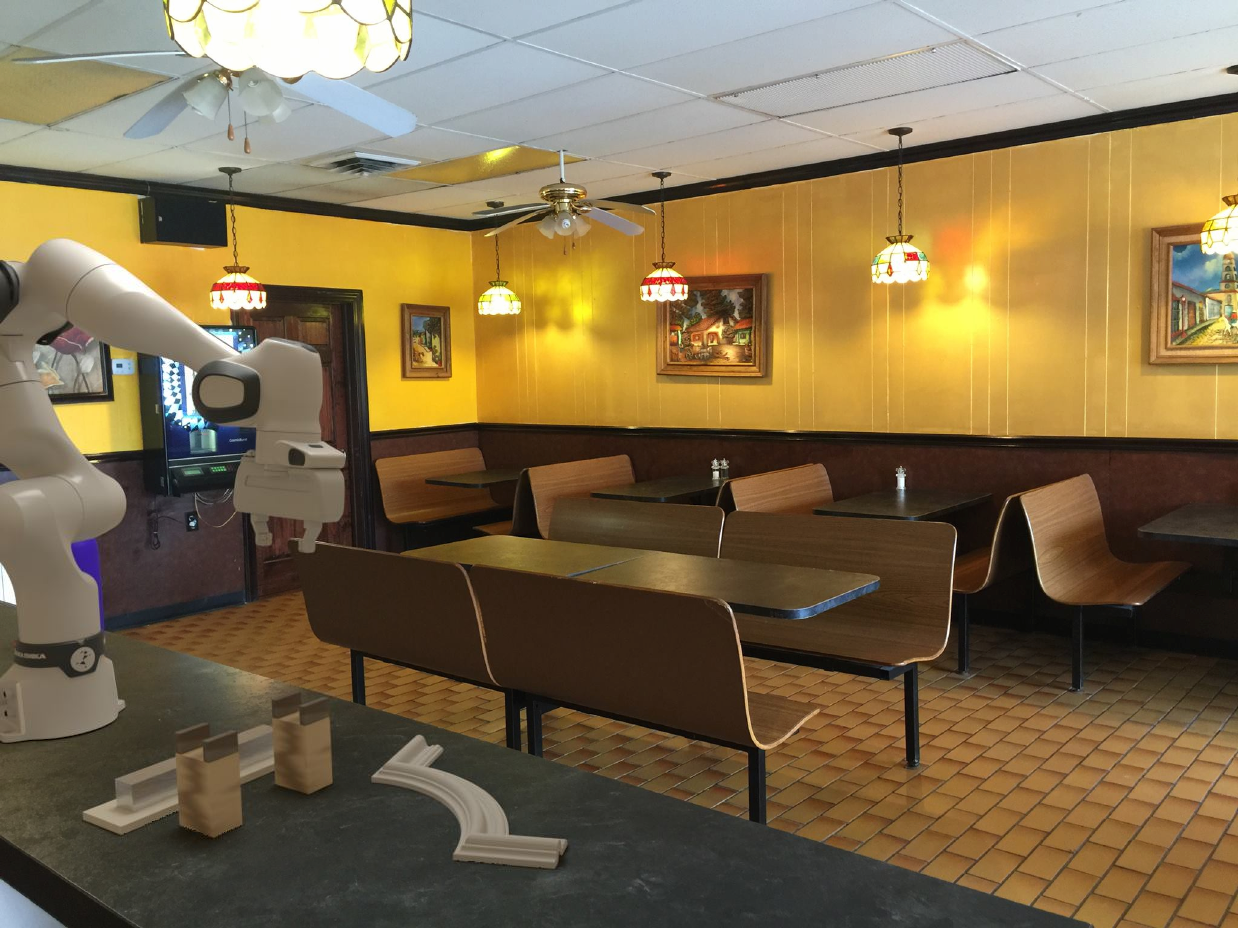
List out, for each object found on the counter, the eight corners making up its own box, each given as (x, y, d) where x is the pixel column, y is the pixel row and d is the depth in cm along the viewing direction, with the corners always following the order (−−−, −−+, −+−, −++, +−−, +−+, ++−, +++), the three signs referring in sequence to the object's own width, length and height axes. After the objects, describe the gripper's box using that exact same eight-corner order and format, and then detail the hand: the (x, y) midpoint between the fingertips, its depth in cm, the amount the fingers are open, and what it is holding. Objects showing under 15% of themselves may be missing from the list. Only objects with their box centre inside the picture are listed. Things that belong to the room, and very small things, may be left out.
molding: (585, 864, 110) (585, 838, 110) (485, 896, 103) (485, 869, 103) (432, 747, 145) (432, 728, 145) (350, 765, 138) (350, 745, 138)
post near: (179, 825, 119) (174, 732, 118) (208, 812, 123) (203, 722, 122) (213, 837, 116) (208, 742, 115) (242, 824, 119) (237, 731, 118)
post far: (275, 783, 131) (271, 699, 130) (299, 773, 135) (295, 690, 134) (308, 794, 128) (304, 706, 127) (332, 782, 131) (328, 698, 130)
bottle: (72, 664, 188) (61, 507, 186) (49, 658, 193) (38, 505, 190) (114, 653, 195) (105, 502, 193) (91, 648, 200) (81, 500, 197)
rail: (116, 806, 123) (114, 778, 122) (264, 748, 141) (263, 724, 141) (133, 812, 121) (131, 784, 120) (281, 752, 139) (279, 728, 139)
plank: (83, 819, 121) (82, 811, 121) (272, 745, 145) (271, 738, 145) (121, 834, 117) (121, 826, 117) (309, 755, 141) (309, 748, 141)
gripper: (223, 448, 145) (220, 542, 146) (317, 455, 134) (313, 558, 134) (260, 449, 151) (257, 540, 151) (353, 456, 139) (350, 554, 140)
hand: (284, 548), depth 143 cm, fingers open, 8 cm apart
